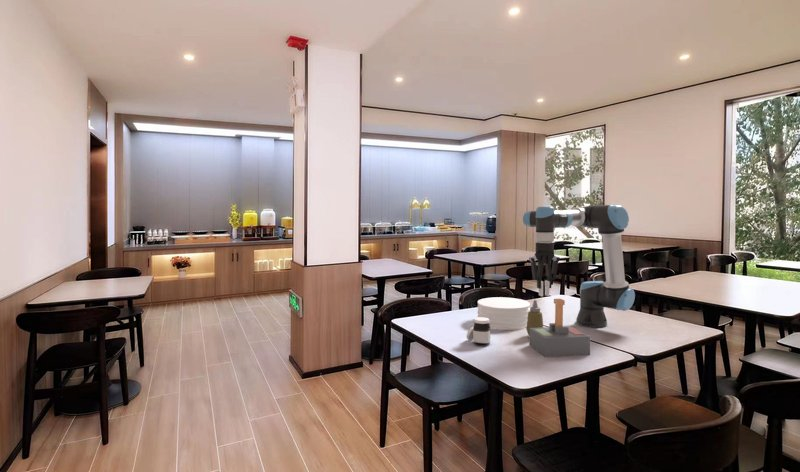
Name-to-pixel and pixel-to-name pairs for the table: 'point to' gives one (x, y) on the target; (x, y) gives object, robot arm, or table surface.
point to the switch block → (559, 341)
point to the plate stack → (504, 312)
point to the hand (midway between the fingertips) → (544, 295)
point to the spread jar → (480, 332)
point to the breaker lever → (559, 312)
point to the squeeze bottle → (534, 317)
